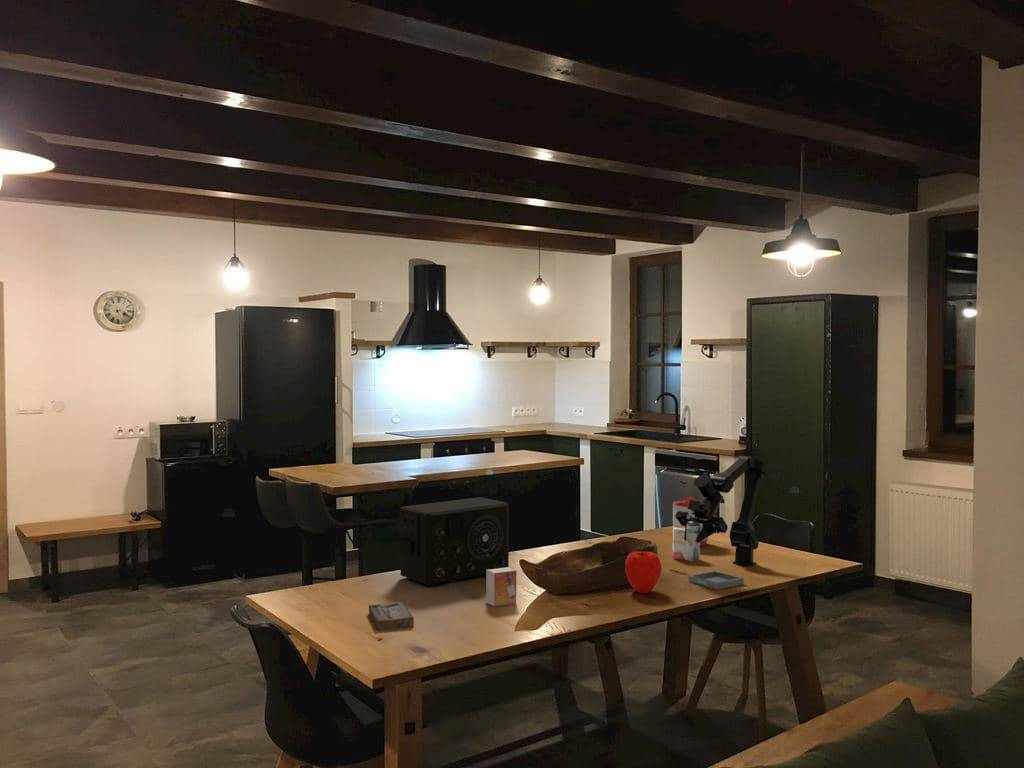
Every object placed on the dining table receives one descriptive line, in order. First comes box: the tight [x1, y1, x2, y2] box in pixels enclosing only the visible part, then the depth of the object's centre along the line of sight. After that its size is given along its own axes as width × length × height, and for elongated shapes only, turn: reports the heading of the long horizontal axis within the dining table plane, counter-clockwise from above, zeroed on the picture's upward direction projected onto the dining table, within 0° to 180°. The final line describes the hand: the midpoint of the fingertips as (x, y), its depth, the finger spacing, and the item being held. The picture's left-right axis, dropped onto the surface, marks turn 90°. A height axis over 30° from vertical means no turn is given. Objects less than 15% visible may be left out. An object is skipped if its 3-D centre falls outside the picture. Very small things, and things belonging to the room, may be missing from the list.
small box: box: [485, 567, 517, 607], centre depth 270 cm, size 8×6×10 cm
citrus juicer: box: [672, 495, 709, 547], centre depth 357 cm, size 16×17×20 cm
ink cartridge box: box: [671, 519, 688, 561], centre depth 331 cm, size 9×5×15 cm, turn 84°
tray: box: [687, 569, 745, 591], centre depth 295 cm, size 13×13×2 cm
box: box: [368, 601, 415, 631], centre depth 252 cm, size 11×17×3 cm, turn 18°
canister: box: [686, 521, 701, 562], centre depth 300 cm, size 5×5×13 cm
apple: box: [624, 550, 662, 594], centre depth 284 cm, size 12×12×13 cm
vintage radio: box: [398, 496, 510, 588], centre depth 303 cm, size 38×20×25 cm, turn 129°
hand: (691, 541), depth 299 cm, fingers closed on canister, 5 cm apart
